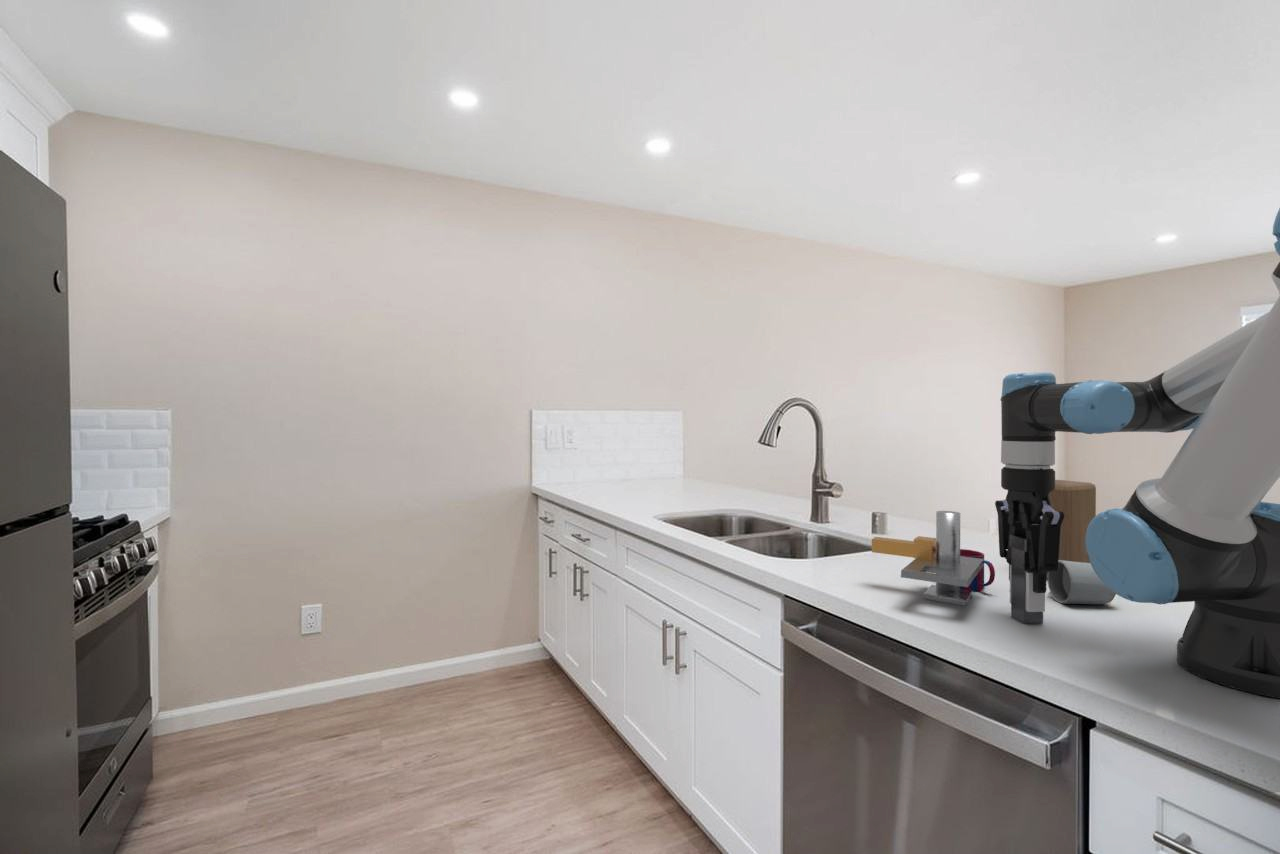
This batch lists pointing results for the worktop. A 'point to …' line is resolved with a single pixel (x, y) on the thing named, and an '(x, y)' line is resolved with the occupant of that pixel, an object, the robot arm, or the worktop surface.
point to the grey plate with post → (936, 560)
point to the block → (1074, 517)
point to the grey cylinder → (1078, 584)
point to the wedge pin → (1021, 581)
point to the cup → (979, 579)
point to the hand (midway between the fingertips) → (1026, 606)
